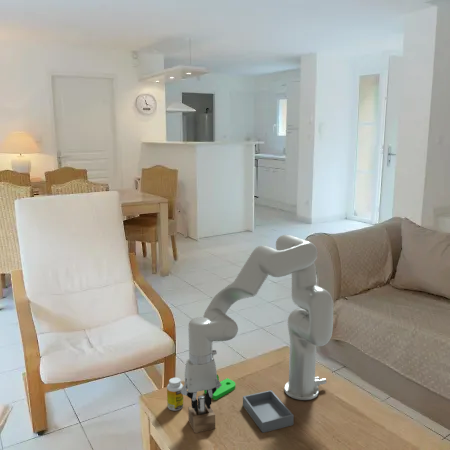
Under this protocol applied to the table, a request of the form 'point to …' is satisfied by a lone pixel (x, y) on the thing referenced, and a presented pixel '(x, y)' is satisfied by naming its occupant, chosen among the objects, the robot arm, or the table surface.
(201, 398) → the pin gauge
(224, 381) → the mechanical part
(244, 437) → the table surface
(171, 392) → the supplement bottle
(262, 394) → the tray
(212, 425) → the bore block
